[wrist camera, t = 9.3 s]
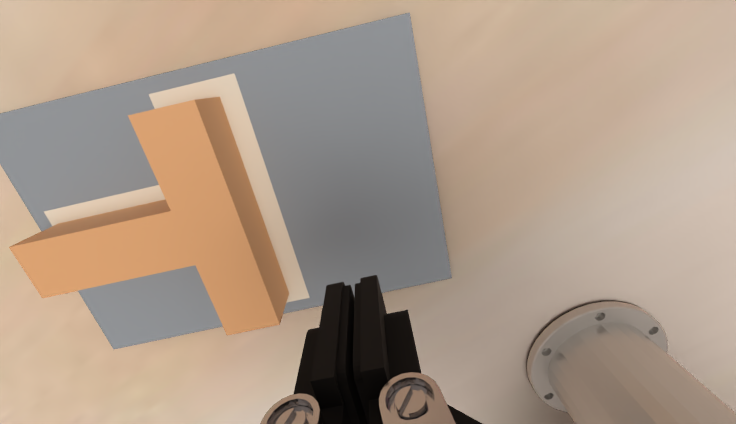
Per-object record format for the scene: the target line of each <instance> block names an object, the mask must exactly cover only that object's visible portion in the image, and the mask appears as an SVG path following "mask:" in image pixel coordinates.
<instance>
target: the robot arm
mask: <svg viewBox="0 0 736 424" xmlns="http://www.w3.org/2000/svg"><path fill="white" fill-rule="evenodd" d="M667 351H668V348H667V338H666V334H665V331H664V329H663V328H662V326H661V325H660V323H659V322H658V321H657V320H655V319H654V318H653V317H652V316H651V315H650V314H648V313H647V312H645V311H644V310H642V309H641V308H639V307H637V306H634V305H632V304H629V303H623V302H617V301H611V302H598V303H592V304H588V305H585V306H582V307H579V308H576V309H574V310H572V311H570V312H568V313H566V314H564V315H562V316H561V317H559V318H558V319H556V320H555V321H553V322H552V323H551V324H550V325H549V326H548V327H547V328H546V329H545V330H544V331H543V332H542V333H541V334H540V336H539V337H538V338H537V339H536V341H535V343H534V345H533V346H532V348H531V350H530V353H529V357H528V360H527V373H528V378H529V381H530V383H531V385H532V387H533V389H534V390H535V392H536V393H537V395H538V396H539V398H540V399H541V400H542V401H544V402H545V403H546V404H547V405H549V406H551V407H553V408H555V409H557V410H560V411H563V412H568V413H569V415H570V416H571V418H572V419H573V421H574V422H575V424H736V413H735V412H734V411H732V410H731V409H730V408H729V407H728V406H727V405H726V404H724V403H723V402H722V401H721V400H720V399H719V398H718V397H716V396H715V395H714V394H713V393H712V392H711V391H710V390H708V389H707V388H706V387H705V386H704V385H703V384H702V383H700V382H699V381H698V380H697V379H696V378H695V377H694V376H692V375H691V374H690V373H689V372H688V371H687V370H686V369H684V368H683V367H682V366H681V365H680V364H679V363H677V362H676V361H675V360H674V359H673V358H672V357H671V356H669V355H668V354H667ZM260 424H482V423H480V422H478V421H476V420H474V419H473V418H471V417H469V416H467V415H465V414H464V413H462V412H460V411H458V410H456V409H455V408H453V407H451V406H449V405H447V403H446V401H445V399H444V397H443V395H442V392H441V390H440V388H439V387H438V385H437V384H436V382H435V381H434V380H433V379H431V378H430V377H429V376H427V375H424V374H421V370H420V365H419V360H418V355H417V351H416V346H415V342H414V337H413V332H412V328H411V323H410V319H409V314H408V310H405V311H400V312H395V313H390V314H387V313H386V309H385V305H384V301H383V297H382V293H381V289H380V284H379V280H378V277H377V275H373V276H368V277H363V278H360V283H356V284H355V297H354V294H353V291H352V287H351V285H346V286H345V284H344V282H339V283H334V284H330V285H327V286H326V291H325V297H324V303H323V309H322V315H321V321H320V327H319V328H315V329H310V330H308V332H307V335H306V339H305V344H304V348H303V353H302V358H301V362H300V367H299V372H298V376H297V381H296V386H295V390H294V394H293V395H290V396H287V397H285V398H283V399H281V400H280V401H278V402H277V403H276V404H274V405H273V406H272V407H271V408H270V409H269V410H268V411H267V413H266V414H265V416H264V418H263V419H262V421H261V423H260Z"/></svg>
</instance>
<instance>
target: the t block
mask: <svg viewBox="0 0 736 424" xmlns="http://www.w3.org/2000/svg"><path fill="white" fill-rule="evenodd" d="M128 117H129V119H130V122H131V124H132V126H133V128H134V131H135V133H136V135H137V137H138V139H139V142H140V144H141V146H142V148H143V150H144V153H145V155H146V157H147V159H148V162H149V164H150V166H151V168H152V170H153V173H154V175H155V177H156V179H157V181H158V184H159V186H160V188H161V190H162V193H163V195H164V197H165V200H160V201H156V202H152V203H147V204H143V205H138V206H134V207H129V208H125V209H120V210H116V211H112V212H107V213H103V214H98V215H94V216H89V217H85V218H81V219H76V220H72V221H67V222H63V223H58V224H56V225H54V226H52V227H50V228H48V229H46V230H44V231H42V232H40V233H37V234H35V235H33V236H31V237H29V238H27V239H25V240H23V241H21V242H19V243H17V244H15V245H13V246H11V247H9V248H10V250H11V251H12V253H13V254H14V256H15V257H16V259H17V260H18V262H19V263H20V265H21V266H22V268H23V269H24V271H25V272H26V274H27V275H28V277H29V279H30V280H31V282H32V283H33V285H34V286H35V288H36V289H37V291H38V292H39V294H40V295H41V297H42V298H46V297H51V296H55V295H60V294H64V293H69V292H74V291H78V290H83V289H88V288H92V287H97V286H101V285H106V284H111V283H115V282H120V281H125V280H129V279H134V278H139V277H143V276H148V275H152V274H157V273H162V272H166V271H171V270H176V269H180V268H185V267H189V266H194V265H195V266H196V268H197V270H198V272H199V274H200V277H201V279H202V281H203V283H204V285H205V288H206V290H207V292H208V294H209V297H210V299H211V301H212V303H213V305H214V308H215V310H216V312H217V314H218V316H219V319H220V321H221V323H222V325H223V328H224V330H225V332H226V334H227V335H231V334H236V333H241V332H246V331H251V330H256V329H260V328H265V327H270V326H275V325H280V322H281V319H282V315H283V312H284V309H285V306H286V302H287V299H288V296H289V291H288V288H287V285H286V283H285V280H284V277H283V274H282V271H281V268H280V266H279V263H278V260H277V257H276V254H275V251H274V249H273V246H272V243H271V240H270V237H269V235H268V232H267V229H266V226H265V223H264V220H263V218H262V215H261V212H260V209H259V206H258V203H257V201H256V198H255V195H254V192H253V189H252V186H251V184H250V181H249V178H248V175H247V172H246V169H245V167H244V164H243V161H242V158H241V155H240V152H239V150H238V147H237V144H236V141H235V138H234V135H233V133H232V130H231V127H230V124H229V121H228V119H227V116H226V113H225V110H224V107H223V104H222V102H221V99H220V97H212V98H204V99H196V100H191V101H187V102H182V103H178V104H174V105H170V106H165V107H161V108H157V109H153V110H149V111H144V112H140V113H136V114H132V115H128Z"/></svg>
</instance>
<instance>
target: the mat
mask: <svg viewBox="0 0 736 424" xmlns="http://www.w3.org/2000/svg"><path fill="white" fill-rule="evenodd" d="M212 97H220V99H221V102H222V104H223V107H224V110H225V113H226V116H227V119H228V121H229V124H230V127H231V130H232V133H233V135H234V138H235V141H236V144H237V147H238V150H239V152H240V155H241V158H242V161H243V164H244V167H245V169H246V172H247V175H248V178H249V181H250V184H251V186H252V189H253V192H254V195H255V198H256V201H257V203H258V206H259V209H260V212H261V215H262V218H263V220H264V223H265V226H266V229H267V232H268V235H269V237H270V240H271V243H272V246H273V249H274V251H275V254H276V257H277V260H278V263H279V266H280V268H281V271H282V274H283V277H284V280H285V283H286V285H287V288H288V291H289V296H288V299H287V302H286V306H285V309H284V312H283V314H284V313H289V312H293V311H298V310H303V309H308V308H312V307H317V306H322V305H323V303H324V297H325V291H326V286H327V285H330V284H334V283H339V282H344V284H345V286H346V285H351V287H352V291H353V294H354V297H355V284H356V283H360V278H363V277H368V276H373V275H377V277H378V280H379V284H380V289H381V293H383V292H388V291H393V290H398V289H402V288H407V287H412V286H417V285H421V284H426V283H431V282H435V281H440V280H445V279H450V278H452V276H451V270H450V264H449V257H448V251H447V245H446V238H445V232H444V226H443V220H442V213H441V207H440V201H439V194H438V188H437V182H436V175H435V169H434V163H433V157H432V150H431V144H430V138H429V131H428V125H427V119H426V112H425V106H424V100H423V94H422V87H421V81H420V75H419V68H418V62H417V56H416V50H415V43H414V37H413V31H412V24H411V18H410V13H406V14H402V15H398V16H394V17H390V18H386V19H382V20H378V21H374V22H370V23H366V24H361V25H357V26H353V27H349V28H345V29H341V30H337V31H333V32H329V33H325V34H321V35H317V36H313V37H309V38H305V39H301V40H297V41H293V42H289V43H284V44H280V45H276V46H272V47H268V48H264V49H260V50H256V51H252V52H248V53H244V54H240V55H236V56H232V57H228V58H224V59H220V60H216V61H212V62H207V63H203V64H199V65H195V66H191V67H187V68H183V69H179V70H175V71H171V72H167V73H163V74H159V75H155V76H151V77H147V78H143V79H139V80H134V81H130V82H126V83H122V84H118V85H114V86H110V87H106V88H102V89H98V90H94V91H90V92H86V93H82V94H78V95H74V96H70V97H66V98H62V99H57V100H53V101H49V102H45V103H41V104H37V105H33V106H29V107H25V108H21V109H17V110H13V111H9V112H5V113H1V114H0V164H1V166H2V168H3V169H4V171H5V173H6V174H7V176H8V178H9V179H10V181H11V182H12V184H13V186H14V187H15V189H16V191H17V192H18V194H19V195H20V197H21V199H22V200H23V202H24V204H25V205H26V207H27V209H28V210H29V212H30V213H31V215H32V217H33V218H34V220H35V222H36V223H37V225H38V227H39V228H40V230H41V231H44V230H46V229H48V228H50V227H52V226H54V225H56V224H58V223H63V222H67V221H72V220H76V219H81V218H85V217H89V216H94V215H98V214H103V213H107V212H112V211H116V210H120V209H125V208H129V207H134V206H138V205H143V204H147V203H152V202H156V201H160V200H165V197H164V195H163V193H162V190H161V188H160V186H159V184H158V181H157V179H156V177H155V175H154V173H153V170H152V168H151V166H150V164H149V162H148V159H147V157H146V155H145V153H144V150H143V148H142V146H141V144H140V142H139V139H138V137H137V135H136V133H135V131H134V128H133V126H132V124H131V122H130V119H129V117H128V115H132V114H136V113H140V112H144V111H149V110H153V109H157V108H161V107H165V106H170V105H174V104H178V103H182V102H187V101H191V100H196V99H204V98H212ZM78 292H79V293H80V295H81V297H82V298H83V300H84V302H85V303H86V305H87V307H88V308H89V310H90V311H91V313H92V315H93V316H94V318H95V320H96V321H97V323H98V324H99V326H100V328H101V329H102V331H103V333H104V334H105V336H106V338H107V339H108V341H109V342H110V344H111V346H112V347H113V349H118V348H123V347H128V346H132V345H137V344H142V343H147V342H151V341H156V340H161V339H166V338H170V337H175V336H180V335H184V334H189V333H194V332H199V331H203V330H208V329H213V328H218V327H222V326H223V325H222V323H221V321H220V319H219V316H218V314H217V312H216V310H215V308H214V305H213V303H212V301H211V299H210V297H209V294H208V292H207V290H206V288H205V285H204V283H203V281H202V279H201V277H200V274H199V272H198V270H197V268H196V266H195V265H194V266H189V267H185V268H180V269H176V270H171V271H166V272H162V273H157V274H152V275H148V276H143V277H139V278H134V279H129V280H125V281H120V282H115V283H111V284H106V285H101V286H97V287H92V288H88V289H83V290H78Z"/></svg>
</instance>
